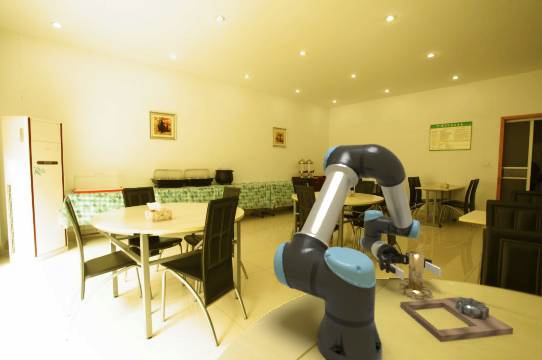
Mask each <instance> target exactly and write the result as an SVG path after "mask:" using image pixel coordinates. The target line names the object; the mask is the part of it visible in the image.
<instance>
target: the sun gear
mask: <svg viewBox="0 0 542 360" xmlns="http://www.w3.org/2000/svg"><path fill="white" fill-rule="evenodd" d="M458 297H459V299H456V304H455V309H458V312H459V313H460V314H464V315H466V316H468V317H469V318H472V319H474V318H476V319H481V320H486V317H488V318H489V314H490V308H489V306H487V305H486V303H485V302H483V301H479V300H477V299H474V298H473V297H469V298H468V297H462V296H458Z"/></svg>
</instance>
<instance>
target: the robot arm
mask: <svg viewBox="0 0 542 360" xmlns="http://www.w3.org/2000/svg"><path fill="white" fill-rule="evenodd" d="M322 168H323V172H324V175H325V181H323V182H324V183H323V184H322V187H321V189H320V191H319V192H318V195H317V197H316V199H315V201H314V203H313V206H312V208H311V210H310V212H309V214H308V216H307V218H306V221H305V222H304V225H303V227H302V228H301V230H300V231H299V232H295V233H294V234H293V236H292V237H291V240H290V241H283V242H282V243H280V244H279V245H278V246H277V248H276V250H275V252H274V256H273V271H274V275H275V278H276V280H277V281H278V282H279V283H280V284H281V285H284V286H286V287H288V288H289V289H291V290H293V289H294V290H296V291H299V292H302V293H305V294H307V295H310V296H312V297H315V298H318V299H321V300H323V301H324V313H323V316H322V319H321V322H320V325H319V327H318V330H317V335H316V336H317V339H316V340H317V341H316V342H317V343H316V344H317V347H318V350H319V351H320V354H322V356H323V357H324V358H325V359H326V360H382V358H383V357H382V356H383V353H382V352H383V345H382V340H381V337H380V335H379V330H378V328H377V325H376V322H375V310H376V309H375V307H376V302H375V301H376V284H377V279H376V266H375V264H374V261H373V260H372V258H370V257H369V256H368V255H367V254H366V253H369V254H370V255H372V256H374V257H375V258H376V262H377V263H378V267H379V270H380V271H382V272H383V271H385V273H387V274H390V273H391V274H393V275H395V276H396V277H398V278H399V279H400V280H402V281H403V280H405V271H404V270H403V269H402V268H399V267H398V266H397V265H406V266H407V265H409V252H405V254H404V253H400V252H399V251H398V249H397V248H396V247H395V246H393V245H391V244H389V243H387V242H385V241H384V240H383V237H382V236H383V234H384V235H391V236H396V237H401V238H407V239H418V238H419V237H420V234H421V223H420V221H419V220H416V219H414V218H413V216H412V211H411V208H410V203H409V199H408V194H407V191H406V187H405V181H406V178H407V175H406V174H407V173H406V171H405V167H404V164H403V163H402V161H401V160H400V159H399V157H398V156H397V155H396V153H394V152H393V151H391V150H390V149H389V148H387V147H385V146H383V145H380V144H376V143H367V144H349V145H348V144H347V145H345V144H342V145H341V144H340V145H336V146H332V147H330V148H329V149H328V150H327V151H326V152H325V155H324V158H323V163H322ZM360 179H373V180H375V181H376V184H377V185H378V186H380V188H381V191H382V195H383V197H384V200H385V204H386V207H387V210H388V213H389V216H385V215H384V214H383V212H382V211H381V210H376V209H372V210H371V209H368V210H366V211H365V212H364V217H363V218H364V219H363V235H362V236H361V237H360V240H359V244H360V247H361V248H362V249H363V250H364V251H365V252H366V253H364V252H361V251H359V250H356V249H354V248H351V247H346V246H345V247H341V246H332V247H330V246H329V242H330V240H331V238H332V235H333V232H334V229H335V228H336V226H337V223H338V220H339V218H340V214H341V212H342V210H343V207H344V205H345V202H346V200H347V197H348V195H349V192H350V190H351V188H354V187H355V186H357V184H358V182H359V180H360ZM394 264H395V265H394ZM396 264H397V265H396ZM424 269H425V271H427V272H430V273H431V274H433V275H435V276H437V277H442V268H440V267H438V266H437V265H434V264H433V260H432V259H429V258H425V257H424ZM381 357H382V358H381Z"/></svg>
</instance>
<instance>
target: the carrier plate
mask: <svg viewBox="0 0 542 360" xmlns="http://www.w3.org/2000/svg"><path fill="white" fill-rule="evenodd" d="M459 297H460V296H457V297H454V296H453V297H447V298H446V297H445V298H443V297H442V298H434V299H432V298H430V299H428V300H419V299H418V300H411V301H401V302H400V304H399V305H400V306H399V307H400V308H401V309H402V310H403V311H404V312H406V313H407V314H408V315H409V316H410V317H412V319H414V320H415V321H416V323H418V324H420V325H421V326H422V327H423V328H425V330H427V332H429V333H430V334H431V335H432V336H433V337H435V339H437V340H438V341H439V342H442V343H443V342H449V341H460V340H467V339H469V340H470V339H477V338H484V337H485V338H486V337H495V336H502V335H512V334H514V333H513V332H514V330H513V329H514V327H512V326H510V325H509V324H507V323H505V322H503V321H502V320H500V319H498V318H497V317H495V316H494V315H491V314H490V313H489V318H488V317H486V320H481V319H476V318H474V319H472V318H469V317H468V316H466V315H464V314H460V313H459V312H458V309H455V304H456V299H459ZM441 308H443V309H444V310H446V311H447V312H449V313H450V314H452V315H453V316H455V317H456V318H457V319H458V320H461V321H462V322H463V323H465V324H466V325H468V326H463V327H453V328H445V329H438V328H437V327H435V326H434V325H433V324H432V323H430V322H429V321H428V320H427V319H426V318H425V317H424V316H422V315H420V314H419V312H417V311H419V310H428V309H441ZM416 310H417V311H416Z"/></svg>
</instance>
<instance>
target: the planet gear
mask: <svg viewBox="0 0 542 360" xmlns="http://www.w3.org/2000/svg"><path fill="white" fill-rule="evenodd" d="M408 253H409V264H408V280H405V281H404V282H402V283H401V282H400V283H399V291H400V294H401V295H403V296H407V297H408V298H410V299H412V300H413V301H416V300H418V301H419V300H430V299H432V298H433V290H431V289H430V288H431V287H430V286H428V285H424V271H425V270H424V269H425V268H424V258H425V254H424V253H423V252H420V251H414V250H413V251H409V252H408Z"/></svg>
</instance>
